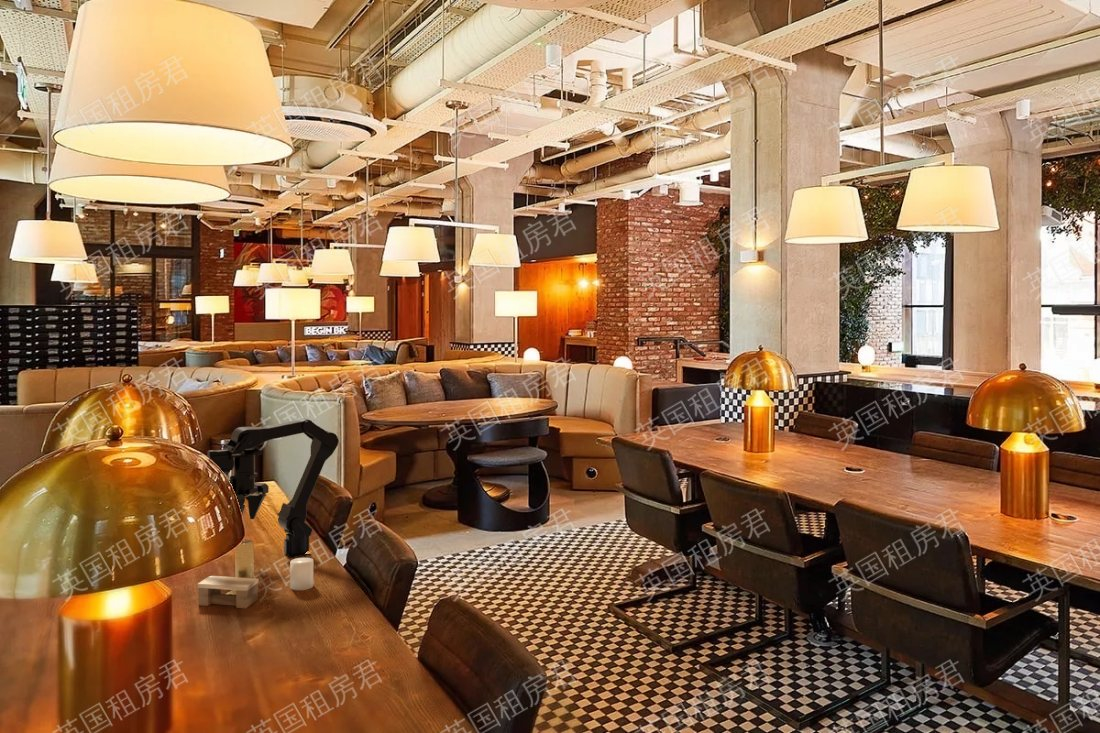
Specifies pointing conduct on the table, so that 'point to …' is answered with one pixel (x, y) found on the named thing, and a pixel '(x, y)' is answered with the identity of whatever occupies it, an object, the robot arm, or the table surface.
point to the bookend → (244, 561)
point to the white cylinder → (301, 573)
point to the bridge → (214, 584)
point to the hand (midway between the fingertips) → (244, 523)
